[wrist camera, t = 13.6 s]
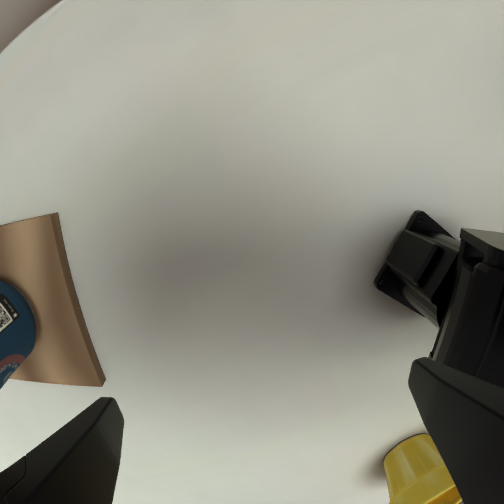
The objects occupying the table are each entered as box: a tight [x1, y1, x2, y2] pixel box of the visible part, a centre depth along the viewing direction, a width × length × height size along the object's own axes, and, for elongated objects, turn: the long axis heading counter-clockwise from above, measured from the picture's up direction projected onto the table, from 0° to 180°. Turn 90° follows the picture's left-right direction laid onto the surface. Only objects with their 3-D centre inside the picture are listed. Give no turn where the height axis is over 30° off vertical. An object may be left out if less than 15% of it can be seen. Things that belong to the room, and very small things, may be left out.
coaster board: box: [0, 213, 106, 387], centre depth 20 cm, size 14×14×1 cm
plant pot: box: [383, 434, 462, 504], centre depth 24 cm, size 10×10×10 cm
